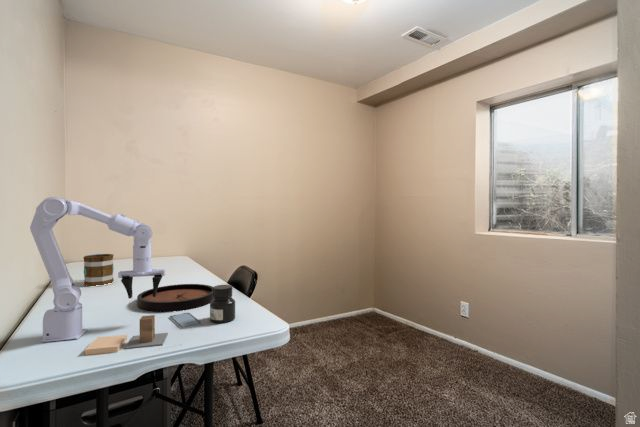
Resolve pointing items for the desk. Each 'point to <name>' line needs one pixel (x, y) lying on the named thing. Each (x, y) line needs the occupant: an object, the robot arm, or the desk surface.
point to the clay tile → (106, 344)
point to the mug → (98, 269)
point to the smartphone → (185, 320)
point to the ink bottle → (222, 304)
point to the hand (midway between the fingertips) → (142, 296)
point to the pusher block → (147, 328)
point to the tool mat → (136, 343)
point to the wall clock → (175, 298)
